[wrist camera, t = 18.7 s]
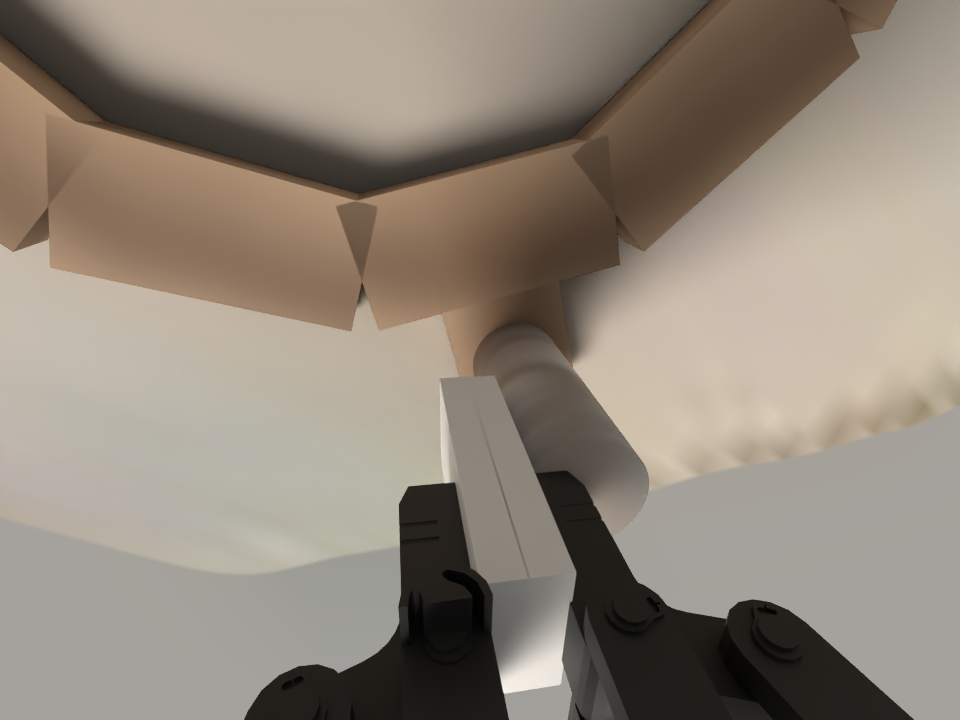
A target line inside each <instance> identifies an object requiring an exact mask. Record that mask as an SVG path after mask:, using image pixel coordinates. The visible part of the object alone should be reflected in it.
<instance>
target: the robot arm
mask: <svg viewBox="0 0 960 720" xmlns="http://www.w3.org/2000/svg"><path fill="white" fill-rule="evenodd" d="M440 423H441V464H442V471H443V477H444V483H442V484H431V485H420V486H410V487H408V488H407V490H406V492H405V494H404V496H403V498H402V500H401V501H400V503H399V525H400V564H401V597H400V602H399V621H400V622H399V625H398V627H397V630H396V632H395V634H394V635H393V636H392V638H391V639H390V641H389V642H388V643H387V644H386V645H385V646H384V647H383V648H382V649H381V650H380V651H379V652H378V653H376V654H375V655H373V656H372V657H370V658H368V659H367V660H365V661H363V662H361V663H359V664H357V665H355V666H353V667H351V668H349V669H347V670H345V671H343V672H340V673H337V672H336V671H335V670H334V669H331V668H328V667H324V666H321V665H318V664H317V665H307V666H298V667H296V668H294V669H292V670H290V671H288V672H285V673H283V674H281V675H279V676H278V677H277V678H276V679H274V680H273V681H272V682H271V683H270V684H269V685H267V686H266V687H265V688H264V689H263V690H262V691H261V692H260V694H259V695H258V697H257V698H256V700H255V701H254V703H253V704H252V706H251V707H250V709H249V710H248V712H247V715H246V717H245V719H244V720H509V718H508V713H507V708H506V703H505V698H504V694H505V693H511V692H517V691H524V690H530V689H536V688H542V687H549V686H555V685H560V684H561V678H562V671H563V666H564V669H565V672H566V675H567V678H568V681H569V684H570V688H571V691H572V698H571V703H570V710H569V716H568V720H914V719H913V718H912V717H910V716H909V715H908V714H907V713H906V712H905V711H904V710H902V709H901V708H900V707H899V706H898V705H897V704H896V703H895V702H894V701H893V700H891V699H890V698H889V697H888V696H887V695H886V694H885V693H884V692H883V691H881V690H880V689H879V688H878V687H877V686H876V685H875V684H874V683H872V682H871V681H870V680H869V679H868V678H867V677H866V676H865V675H864V674H863V673H861V672H860V671H859V670H858V669H857V668H856V667H855V666H854V665H853V664H851V663H850V662H849V661H848V660H847V659H846V658H845V657H843V656H842V655H841V654H840V653H839V652H838V651H837V650H836V649H835V648H834V647H832V646H831V645H830V644H829V643H828V642H827V641H826V640H825V639H823V638H822V637H821V636H820V635H819V634H818V633H817V632H816V631H815V630H814V629H812V628H811V627H810V626H809V625H808V624H807V623H806V622H804V621H803V620H802V619H800V618H799V617H797V616H796V615H794V614H793V613H792V612H790V611H789V610H787V609H785V608H782V607H780V606H778V605H775V604H773V603H771V602H766V601H760V600H748V601H742V602H738V603H737V604H736V605H735V606H734V607H733V608H731V609H730V610H729V613H728V616H727V619H723V618H717V617H712V616H706V615H699V614H693V613H687V612H684V611H680V610H676V609H673V608H671V607H669V606H667V605H666V604H665V603H664V601H663V600H662V599H661V598H660V597H659V595H658V594H656V593H655V592H653V591H652V590H651V589H649V588H648V587H646V586H644V585H642V584H640V583H638V582H637V581H636V579H635V578H634V576H633V575H632V573H631V571H630V569H629V567H628V565H627V563H626V562H625V560H624V558H623V556H622V554H621V552H620V551H619V549H618V547H617V545H616V543H615V541H614V539H613V537H612V536H611V534H610V532H609V530H608V528H607V526H606V524H605V523H604V521H602V517H601V515H600V513H599V511H598V510H597V508H596V506H594V502H593V500H592V498H591V497H590V495H589V493H588V491H587V489H586V487H585V485H584V484H583V483H581V482H580V481H579V480H578V479H577V478H575V477H574V476H573V475H572V474H571V473H570V472H568V471H556V472H545V473H535V472H534V469H533V467H532V465H531V462H530V460H529V457H528V455H527V453H526V450H525V448H524V445H523V443H522V441H521V438H520V436H519V433H518V431H517V429H516V426H515V424H514V421H513V419H512V417H511V414H510V412H509V409H508V407H507V405H506V402H505V400H504V397H503V395H502V393H501V390H500V388H499V385H498V383H497V381H496V378H495V376H494V375H493V376H476V377H459V378H442V379H440Z"/></svg>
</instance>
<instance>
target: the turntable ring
mask: <svg viewBox="0 0 960 720" xmlns="http://www.w3.org/2000/svg"><path fill="white" fill-rule="evenodd" d="M896 1H897V0H712V1H711V2H710V3H709V4H707V5H706V6H705V7H704V8H703V9H702V10H701V11H700V12H699V13H698V14H697V15H696V16H695V17H694V18H693V19H692V20H691V21H690V22H689V23H688V24H687V25H686V26H685V27H684V28H683V29H682V30H681V31H680V32H679V33H678V34H677V35H676V36H675V37H674V38H673V39H672V40H671V41H670V42H669V43H668V44H667V45H666V46H665V47H664V48H663V49H662V50H661V51H660V52H659V53H658V54H657V55H656V56H655V57H654V58H653V59H652V60H651V61H650V62H649V63H648V64H647V65H646V66H645V67H644V68H643V69H642V70H641V71H640V72H639V73H638V74H636V75H635V76H634V77H633V78H632V79H631V80H630V81H629V82H628V83H627V84H626V85H625V86H624V87H623V88H622V89H621V90H620V91H619V92H618V93H617V94H616V95H615V96H614V97H613V98H612V99H611V100H610V101H609V102H608V103H607V104H606V105H605V106H604V107H603V108H602V109H601V110H600V111H599V112H598V113H597V114H596V115H595V116H594V117H593V118H592V119H591V120H590V121H589V122H588V123H587V124H586V125H585V126H584V127H583V128H582V129H581V130H580V131H579V132H578V133H577V134H576V135H575V136H574V137H573V138H572V139H569V140H565V141H561V142H558V143H554V144H550V145H546V146H542V147H538V148H535V149H531V150H527V151H523V152H519V153H515V154H511V155H508V156H504V157H500V158H496V159H492V160H488V161H484V162H481V163H477V164H473V165H469V166H465V167H461V168H458V169H454V170H450V171H446V172H442V173H438V174H434V175H431V176H427V177H423V178H419V179H415V180H411V181H408V182H404V183H400V184H396V185H392V186H388V187H384V188H381V189H377V190H373V191H369V192H365V193H361V194H358V193H354V192H351V191H347V190H344V189H340V188H337V187H333V186H330V185H326V184H323V183H319V182H316V181H312V180H309V179H305V178H302V177H298V176H295V175H291V174H288V173H284V172H281V171H277V170H274V169H270V168H267V167H263V166H260V165H256V164H253V163H249V162H246V161H242V160H239V159H235V158H232V157H228V156H225V155H221V154H218V153H214V152H211V151H207V150H204V149H200V148H197V147H193V146H190V145H186V144H183V143H179V142H176V141H173V140H169V139H166V138H162V137H159V136H155V135H152V134H148V133H145V132H141V131H138V130H134V129H131V128H127V127H124V126H120V125H117V124H113V123H110V122H106V121H104V120H103V119H102V118H101V117H99V116H98V115H97V114H96V113H95V112H93V111H92V110H91V109H90V108H89V107H87V106H86V105H85V104H84V103H82V102H81V101H80V100H79V99H78V98H76V97H75V96H74V95H73V94H72V93H70V92H69V91H68V90H67V89H65V88H64V87H63V86H62V85H61V84H59V83H58V82H57V81H56V80H55V79H53V78H52V77H51V76H50V75H49V74H47V73H46V72H45V71H44V70H42V69H41V68H40V67H39V66H38V65H36V64H35V63H34V62H33V61H32V60H30V59H29V58H28V57H27V56H25V55H24V54H23V53H22V52H21V51H19V50H18V49H17V48H16V47H15V46H13V45H12V44H11V43H10V42H9V41H7V40H6V39H5V38H4V37H2V36H1V35H0V244H2V245H3V246H5V247H6V248H8V249H10V250H11V251H13V252H14V251H17V250H20V249H22V248H25V247H28V246H31V245H34V244H37V243H40V242H43V241H45V240H47V239H48V238H49V244H50V268H54V269H59V270H64V271H68V272H73V273H78V274H83V275H87V276H92V277H97V278H102V279H106V280H111V281H116V282H120V283H125V284H130V285H135V286H139V287H144V288H149V289H153V290H158V291H163V292H168V293H172V294H177V295H182V296H187V297H191V298H196V299H201V300H205V301H210V302H215V303H220V304H224V305H229V306H234V307H239V308H243V309H248V310H253V311H257V312H262V313H267V314H272V315H276V316H281V317H286V318H291V319H295V320H300V321H305V322H309V323H314V324H319V325H324V326H328V327H333V328H338V329H342V330H347V331H351V330H352V325H353V321H354V316H355V311H356V307H357V302H358V297H359V293H360V288H361V284H362V283H363V286H364V289H365V292H366V294H367V297H368V300H369V303H370V306H371V309H372V312H373V314H374V317H375V320H376V323H377V326H378V329H379V331H380V330H383V329H387V328H391V327H394V326H398V325H402V324H405V323H409V322H412V321H416V320H420V319H423V318H427V317H431V316H434V315H438V314H442V315H443V319H444V323H445V326H446V330H447V333H448V337H449V340H450V344H451V348H452V351H453V355H454V358H455V362H456V365H457V369H458V373H459V376H460V377H476V376H493V375H494V376H495V378H496V381H497V383H498V385H499V388H500V390H501V393H502V395H503V397H504V400H505V402H506V405H507V407H508V409H509V412H510V414H511V417H512V419H513V421H514V424H515V426H516V429H517V431H518V433H519V436H520V438H521V441H522V443H523V445H524V448H525V450H526V453H527V455H528V457H529V460H530V462H531V465H532V467H533V469H534V472H535V473H545V472H556V471H568V472H570V473H571V474H572V475H573V476H574V477H575V478H577V479H578V480H579V481H580V482H581V483H583V484H584V485H585V487H586V489H587V491H588V493H589V495H590V497H591V498H592V500H593V502H594V506H596V508H597V510H598V511H599V513H600V515H601V517H602V521H604V523H605V524H606V526H607V528H608V530H609V532H610V534H611V536H614V535H616V534H617V533H618V532H620V531H621V530H623V529H624V528H625V527H626V526H627V525H629V524H630V522H631V521H632V520H633V519H634V518H635V517H636V516H637V514H638V513H639V512H640V510H641V508H642V507H643V505H644V502H645V500H646V497H647V494H648V489H649V477H648V472H647V470H646V467H645V465H644V463H643V462H642V460H641V459H640V458H639V456H638V455H637V454H636V452H635V451H634V450H633V448H632V447H631V445H630V444H629V443H628V441H627V440H626V439H625V437H624V436H623V435H622V433H621V432H620V431H619V429H618V428H617V427H616V425H615V424H614V423H613V421H612V420H611V419H610V417H609V416H608V415H607V413H606V412H605V411H604V409H603V408H602V406H601V405H600V404H599V402H598V401H597V400H596V398H595V397H594V396H593V394H592V393H591V392H590V390H589V389H588V388H587V386H586V385H585V384H584V382H583V381H582V380H581V378H580V377H579V376H578V374H577V373H576V372H575V370H574V369H573V365H572V359H571V352H570V346H569V340H568V333H567V327H566V320H565V314H564V308H563V301H562V295H561V288H560V282H559V281H562V280H566V279H570V278H573V277H577V276H581V275H584V274H588V273H592V272H595V271H599V270H602V269H606V268H610V267H613V266H617V265H620V259H619V249H618V238H617V232H618V234H619V235H620V236H621V238H622V239H623V240H624V241H625V242H626V243H628V244H630V245H632V246H634V247H636V248H638V249H640V250H642V251H645V250H646V249H647V248H648V247H649V246H650V245H652V244H653V243H654V242H655V241H656V240H657V239H658V238H659V237H660V236H662V235H663V234H664V233H665V232H666V231H667V230H668V229H669V228H671V227H672V226H673V225H674V224H675V223H676V222H677V221H678V220H679V219H681V218H682V217H683V216H684V215H685V214H686V213H687V212H688V211H689V210H691V209H692V208H693V207H694V206H695V205H696V204H697V203H698V202H699V201H701V200H702V199H703V198H704V197H705V196H706V195H707V194H708V193H710V192H711V191H712V190H713V189H714V188H715V187H716V186H717V185H718V184H720V183H721V182H722V181H723V180H724V179H725V178H726V177H727V176H728V175H730V174H731V173H732V172H733V171H734V170H735V169H736V168H737V167H738V166H740V165H741V164H742V163H743V162H744V161H745V160H746V159H747V158H749V157H750V156H751V155H752V154H753V153H754V152H755V151H756V150H757V149H759V148H760V147H761V146H762V145H763V144H764V143H765V142H766V141H767V140H769V139H770V138H771V137H772V136H773V135H774V134H775V133H776V132H777V131H779V130H780V129H781V128H782V127H783V126H784V125H785V124H786V123H788V122H789V121H790V120H791V119H792V118H793V117H794V116H795V115H796V114H798V113H799V112H800V111H801V110H802V109H803V108H804V107H805V106H806V105H808V104H809V103H810V102H811V101H812V100H813V99H814V98H815V97H816V96H818V95H819V94H820V93H821V92H822V91H823V90H824V89H825V88H827V87H828V86H829V85H830V84H831V83H832V82H833V81H834V80H835V79H837V78H838V77H839V76H840V75H841V74H842V73H843V72H844V71H845V70H847V69H848V68H849V67H850V66H851V65H852V64H853V63H854V62H855V61H857V60H858V59H859V58H860V57H859V55H858V52H857V50H856V47H855V45H854V42H853V40H852V38H851V35H850V34H855V33H861V32H866V31H871V30H877V29H882V28H883V26H884V24H885V22H886V20H887V18H888V16H889V14H890V12H891V10H892V9H893V7H894V5H895V3H896Z"/></svg>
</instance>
